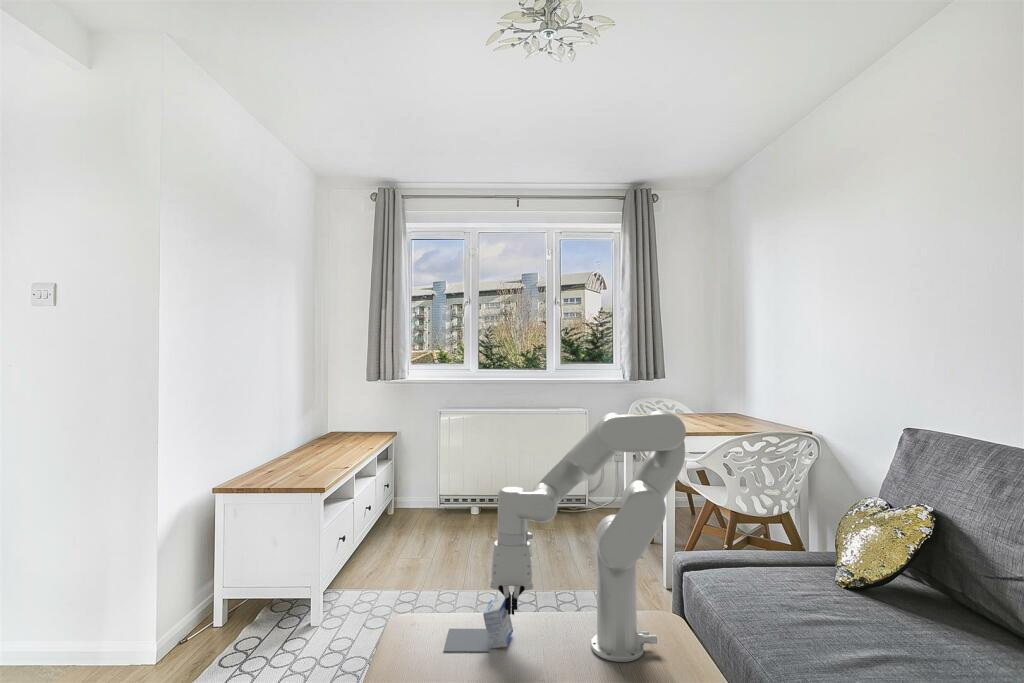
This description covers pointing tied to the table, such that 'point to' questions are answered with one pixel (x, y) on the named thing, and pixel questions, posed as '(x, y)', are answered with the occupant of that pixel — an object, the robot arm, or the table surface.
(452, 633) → the mat
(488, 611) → the medicine box
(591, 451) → the robot arm
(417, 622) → the table surface
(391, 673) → the table surface
